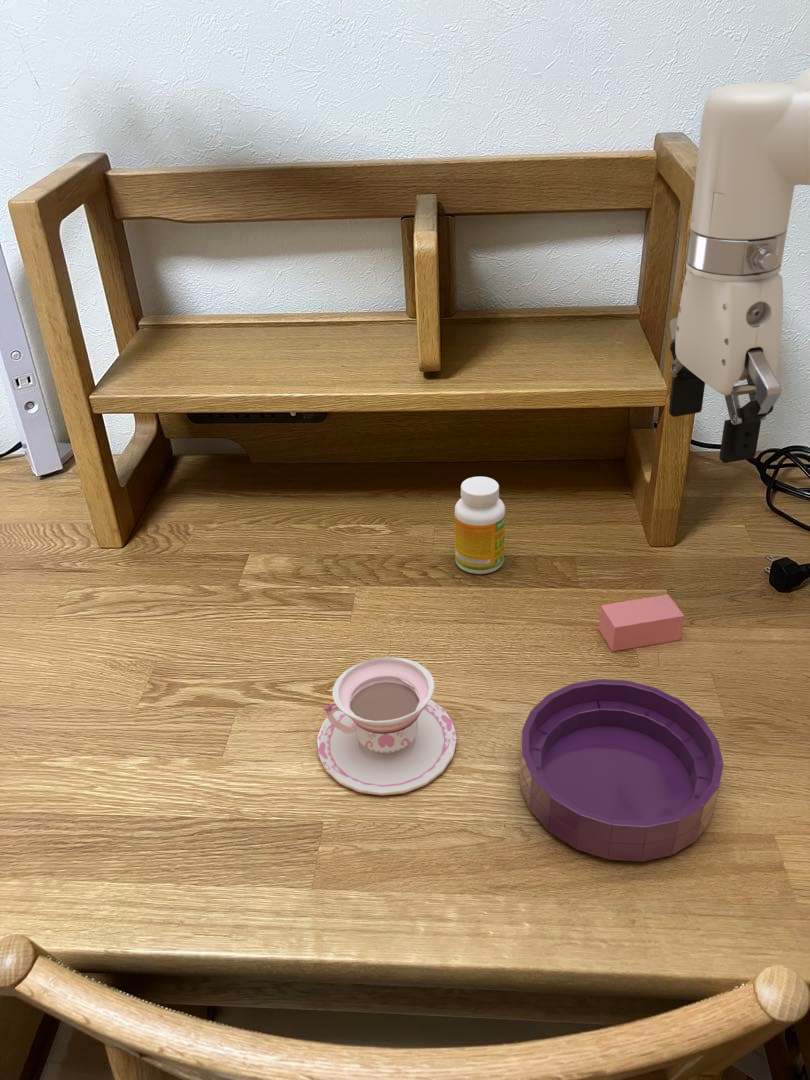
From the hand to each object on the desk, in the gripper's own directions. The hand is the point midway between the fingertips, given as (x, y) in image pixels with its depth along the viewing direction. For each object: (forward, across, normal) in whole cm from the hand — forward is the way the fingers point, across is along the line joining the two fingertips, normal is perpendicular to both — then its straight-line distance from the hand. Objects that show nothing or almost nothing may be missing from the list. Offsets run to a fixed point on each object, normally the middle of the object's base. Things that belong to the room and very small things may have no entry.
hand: (709, 435), depth 84 cm
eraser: (+18, -6, +8) cm, 20 cm away
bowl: (+17, -23, +18) cm, 34 cm away
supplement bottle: (+17, +10, +20) cm, 28 cm away
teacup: (+17, -13, +35) cm, 41 cm away
